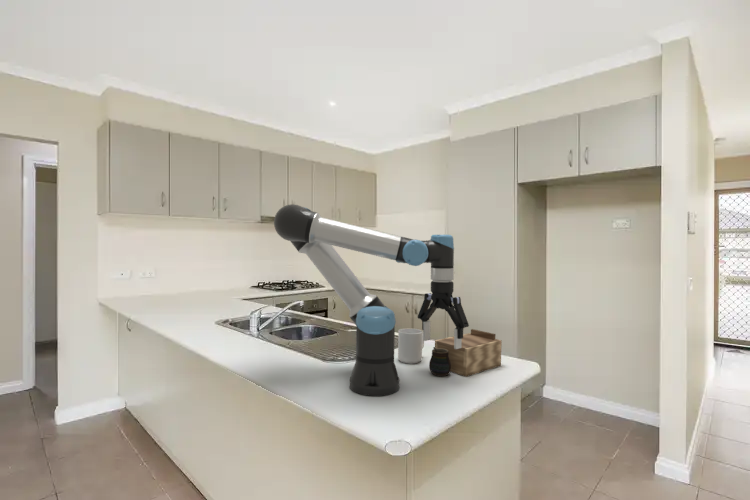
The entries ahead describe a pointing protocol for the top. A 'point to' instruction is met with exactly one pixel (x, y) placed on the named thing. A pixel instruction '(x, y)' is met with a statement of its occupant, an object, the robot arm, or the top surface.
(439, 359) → the mate gourd
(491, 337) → the lid
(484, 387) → the top surface
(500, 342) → the wooden box
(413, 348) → the mug
